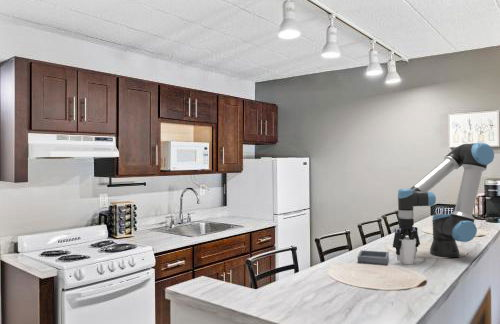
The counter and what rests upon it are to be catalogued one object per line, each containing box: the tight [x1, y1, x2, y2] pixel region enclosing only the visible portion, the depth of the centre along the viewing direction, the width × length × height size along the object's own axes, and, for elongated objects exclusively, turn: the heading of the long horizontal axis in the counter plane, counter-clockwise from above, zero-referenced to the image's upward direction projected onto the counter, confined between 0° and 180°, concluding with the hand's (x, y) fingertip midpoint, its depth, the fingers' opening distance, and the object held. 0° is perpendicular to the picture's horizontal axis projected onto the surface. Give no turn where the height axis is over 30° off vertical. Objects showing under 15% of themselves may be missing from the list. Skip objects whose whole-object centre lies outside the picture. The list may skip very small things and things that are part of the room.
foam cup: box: [399, 236, 416, 265], centre depth 206 cm, size 10×9×13 cm
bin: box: [357, 250, 390, 266], centre depth 212 cm, size 15×15×4 cm
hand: (406, 259), depth 206 cm, fingers closed on foam cup, 9 cm apart
